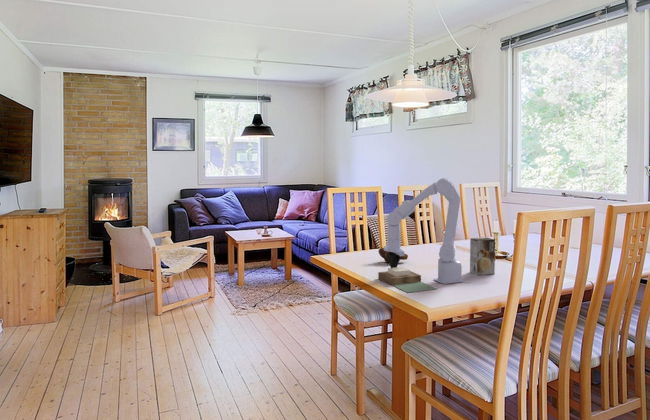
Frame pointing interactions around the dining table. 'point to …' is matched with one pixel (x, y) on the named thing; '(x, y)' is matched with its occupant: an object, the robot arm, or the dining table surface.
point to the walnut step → (398, 278)
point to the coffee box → (482, 256)
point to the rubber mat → (414, 287)
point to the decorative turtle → (383, 255)
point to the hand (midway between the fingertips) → (393, 269)
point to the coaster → (399, 271)
